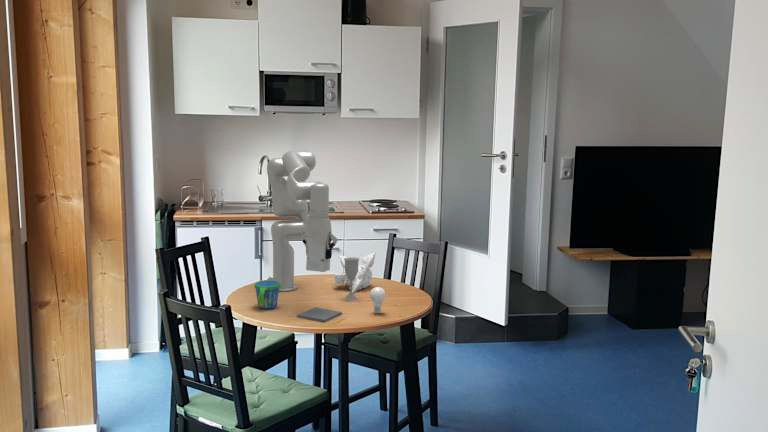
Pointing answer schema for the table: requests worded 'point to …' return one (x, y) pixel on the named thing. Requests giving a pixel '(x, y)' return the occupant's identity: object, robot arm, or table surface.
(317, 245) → the skincare box
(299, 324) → the table surface
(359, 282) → the white bumpy sculpture
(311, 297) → the table surface
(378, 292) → the lightbulb
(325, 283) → the table surface
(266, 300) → the snack cup
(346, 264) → the chalice
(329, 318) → the charcoal mat
